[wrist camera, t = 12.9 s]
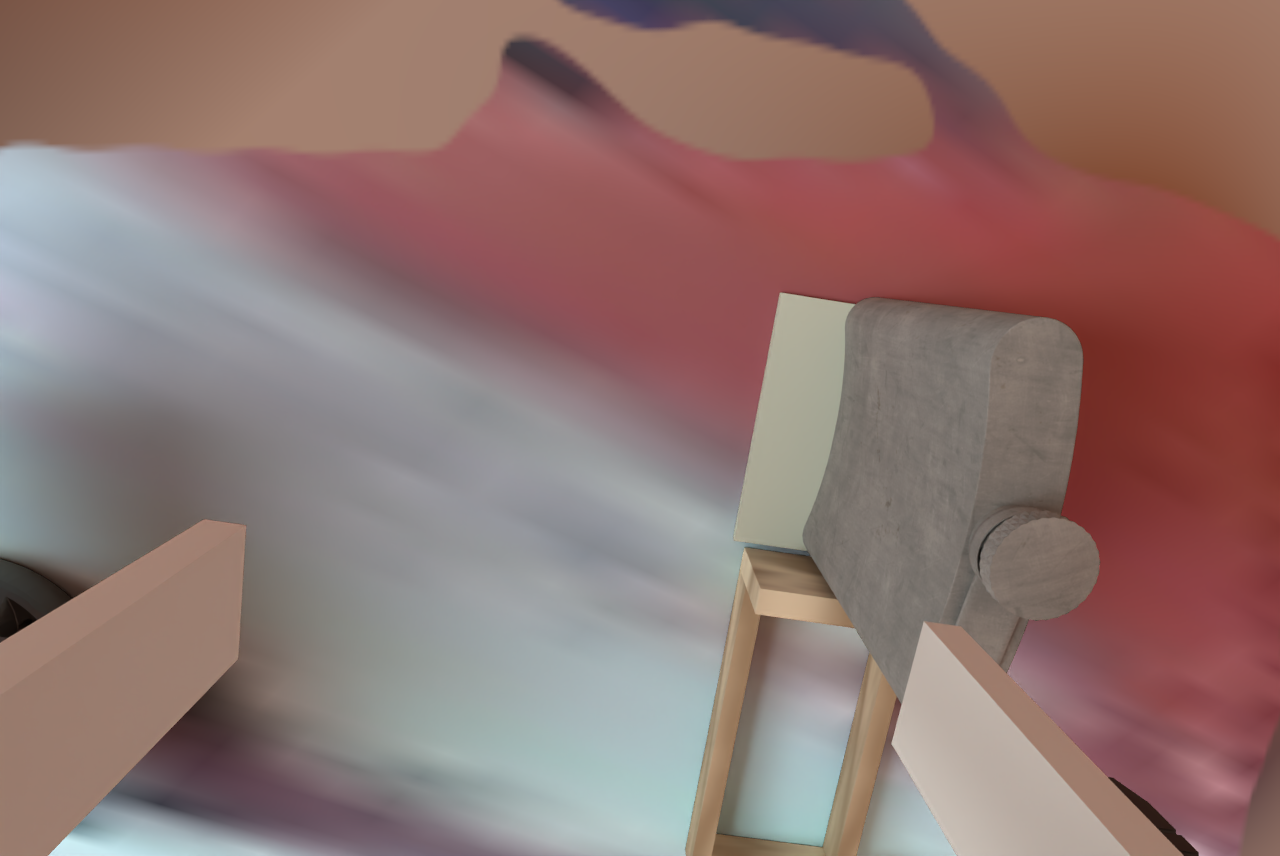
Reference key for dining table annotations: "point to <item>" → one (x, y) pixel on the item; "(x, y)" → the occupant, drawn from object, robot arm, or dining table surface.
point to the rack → (760, 590)
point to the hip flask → (951, 479)
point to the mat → (793, 421)
